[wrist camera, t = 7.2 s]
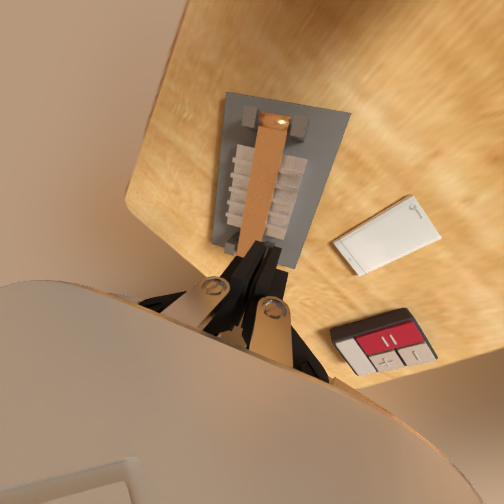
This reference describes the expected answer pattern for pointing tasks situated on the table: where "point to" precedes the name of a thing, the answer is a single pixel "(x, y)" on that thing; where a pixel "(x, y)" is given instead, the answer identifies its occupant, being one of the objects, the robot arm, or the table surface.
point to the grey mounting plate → (313, 148)
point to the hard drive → (387, 236)
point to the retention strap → (262, 178)
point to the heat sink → (284, 187)
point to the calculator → (383, 343)
